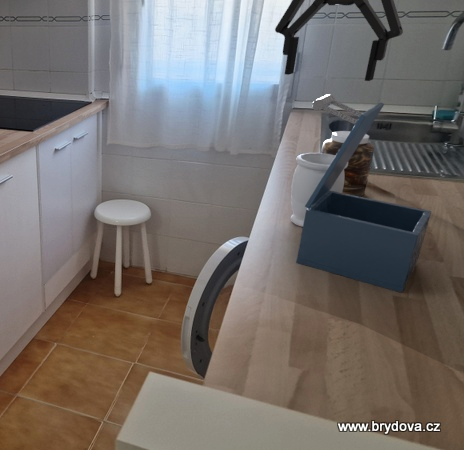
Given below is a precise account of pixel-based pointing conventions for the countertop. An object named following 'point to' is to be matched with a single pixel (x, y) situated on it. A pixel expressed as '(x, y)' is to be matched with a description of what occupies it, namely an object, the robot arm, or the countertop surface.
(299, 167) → the jar
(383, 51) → the robot arm
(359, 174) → the jar
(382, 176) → the countertop surface
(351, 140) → the lid
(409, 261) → the blue lidded box
